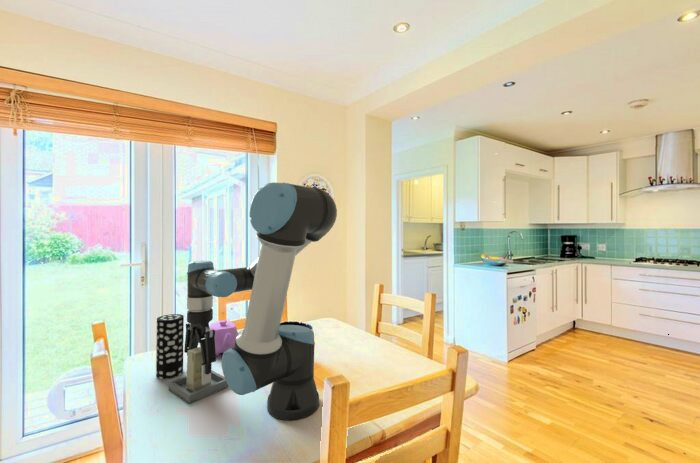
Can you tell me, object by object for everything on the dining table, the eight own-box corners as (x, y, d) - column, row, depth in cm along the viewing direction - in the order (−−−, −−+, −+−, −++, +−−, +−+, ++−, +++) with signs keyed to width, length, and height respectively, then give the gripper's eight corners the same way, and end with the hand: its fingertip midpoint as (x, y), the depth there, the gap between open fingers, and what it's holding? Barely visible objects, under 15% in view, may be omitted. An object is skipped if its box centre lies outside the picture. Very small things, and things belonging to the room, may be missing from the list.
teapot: (202, 346, 139) (203, 317, 139) (232, 341, 146) (232, 313, 146) (211, 363, 122) (211, 330, 122) (244, 356, 129) (244, 325, 129)
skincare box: (193, 392, 99) (193, 353, 99) (185, 388, 102) (186, 350, 102) (212, 384, 105) (212, 347, 105) (204, 380, 107) (205, 344, 107)
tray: (228, 386, 105) (228, 379, 105) (189, 404, 94) (189, 395, 94) (207, 375, 113) (207, 368, 112) (168, 390, 102) (168, 382, 102)
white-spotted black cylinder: (171, 380, 108) (171, 321, 108) (150, 377, 110) (150, 319, 110) (188, 369, 117) (189, 315, 116) (168, 367, 118) (169, 313, 118)
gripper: (229, 312, 100) (228, 384, 100) (195, 301, 112) (194, 366, 113) (206, 317, 94) (205, 394, 94) (172, 305, 106) (172, 374, 107)
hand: (199, 379), depth 103 cm, fingers open, 8 cm apart
